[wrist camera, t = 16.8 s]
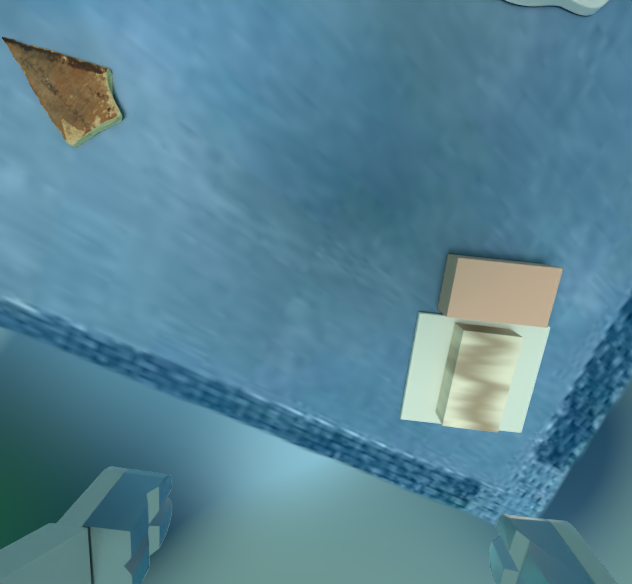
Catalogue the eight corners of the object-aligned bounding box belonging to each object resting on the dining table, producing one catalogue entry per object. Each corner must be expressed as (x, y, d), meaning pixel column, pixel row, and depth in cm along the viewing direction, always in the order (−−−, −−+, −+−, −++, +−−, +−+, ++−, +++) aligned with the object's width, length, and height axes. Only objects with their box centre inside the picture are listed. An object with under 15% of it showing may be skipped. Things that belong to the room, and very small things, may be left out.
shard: (15, 44, 33) (-3, 35, 31) (78, 3, 32) (63, -9, 30) (77, 150, 35) (64, 147, 33) (138, 115, 34) (128, 110, 32)
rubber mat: (399, 416, 40) (400, 419, 40) (418, 311, 37) (419, 313, 36) (518, 429, 40) (521, 432, 39) (546, 325, 37) (550, 327, 36)
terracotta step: (437, 308, 37) (446, 316, 34) (448, 253, 35) (458, 257, 33) (529, 318, 37) (546, 327, 34) (543, 263, 35) (563, 268, 32)
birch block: (454, 322, 37) (435, 412, 39) (463, 330, 34) (442, 425, 37) (510, 329, 36) (487, 418, 39) (523, 337, 34) (497, 432, 37)
